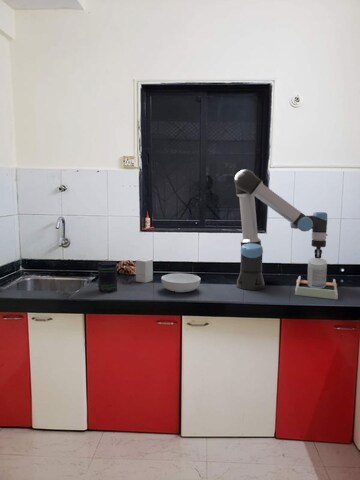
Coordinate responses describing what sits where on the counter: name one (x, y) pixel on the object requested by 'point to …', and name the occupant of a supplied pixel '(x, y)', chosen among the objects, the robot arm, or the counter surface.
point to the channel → (316, 291)
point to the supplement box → (144, 270)
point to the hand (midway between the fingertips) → (316, 280)
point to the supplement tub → (317, 273)
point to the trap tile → (307, 281)
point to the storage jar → (107, 276)
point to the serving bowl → (180, 282)
